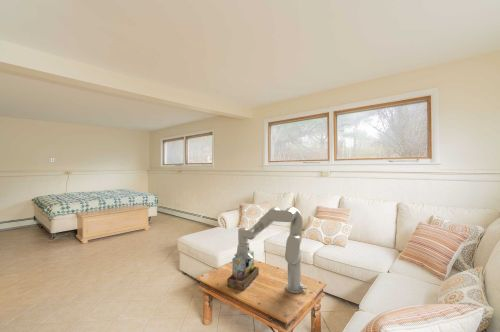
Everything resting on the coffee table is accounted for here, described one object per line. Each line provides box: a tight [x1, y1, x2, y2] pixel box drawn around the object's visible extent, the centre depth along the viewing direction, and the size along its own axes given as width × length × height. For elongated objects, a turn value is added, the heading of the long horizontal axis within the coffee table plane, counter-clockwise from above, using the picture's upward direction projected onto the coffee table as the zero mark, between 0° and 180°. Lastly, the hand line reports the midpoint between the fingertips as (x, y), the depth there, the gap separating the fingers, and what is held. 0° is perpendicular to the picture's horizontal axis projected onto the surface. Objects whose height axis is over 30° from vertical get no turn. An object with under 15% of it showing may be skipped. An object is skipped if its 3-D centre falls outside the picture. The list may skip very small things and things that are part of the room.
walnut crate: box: [227, 266, 260, 292], centre depth 186 cm, size 14×27×6 cm, turn 154°
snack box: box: [231, 250, 255, 279], centre depth 186 cm, size 21×6×15 cm, turn 143°
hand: (243, 265), depth 186 cm, fingers closed on snack box, 6 cm apart
